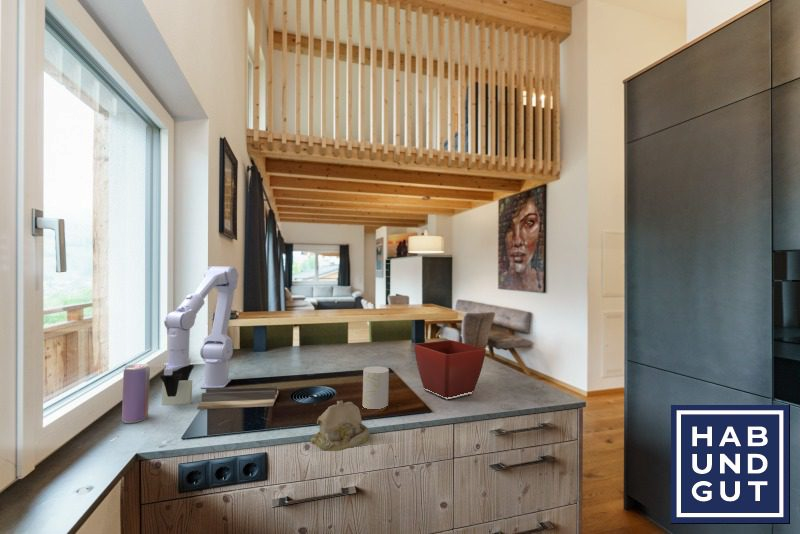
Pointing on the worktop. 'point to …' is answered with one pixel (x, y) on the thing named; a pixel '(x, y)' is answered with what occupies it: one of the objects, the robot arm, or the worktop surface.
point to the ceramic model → (340, 428)
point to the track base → (238, 397)
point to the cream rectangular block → (178, 394)
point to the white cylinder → (375, 387)
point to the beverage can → (135, 393)
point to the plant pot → (449, 366)
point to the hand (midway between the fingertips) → (177, 392)
